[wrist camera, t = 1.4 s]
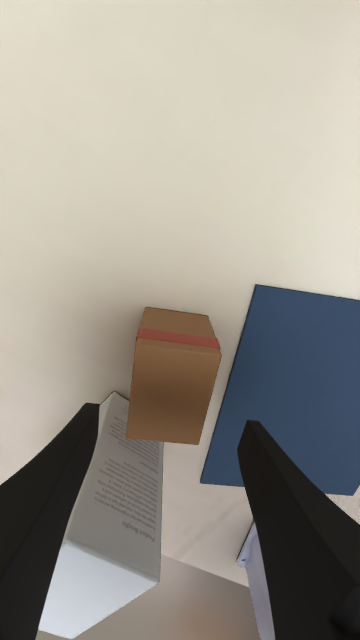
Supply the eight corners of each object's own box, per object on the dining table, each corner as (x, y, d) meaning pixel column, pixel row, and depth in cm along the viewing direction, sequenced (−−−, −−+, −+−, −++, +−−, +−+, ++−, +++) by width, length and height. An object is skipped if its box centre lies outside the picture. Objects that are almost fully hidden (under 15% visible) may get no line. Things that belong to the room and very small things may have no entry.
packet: (192, 389, 21) (199, 446, 16) (135, 382, 21) (124, 439, 16) (209, 314, 18) (223, 354, 13) (144, 305, 18) (134, 343, 13)
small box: (110, 471, 24) (70, 643, 15) (59, 443, 23) (-24, 616, 13) (166, 423, 22) (163, 586, 13) (114, 388, 21) (64, 545, 11)
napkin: (350, 492, 27) (352, 495, 26) (199, 480, 25) (200, 483, 25) (462, 316, 19) (467, 318, 19) (255, 284, 18) (257, 285, 17)
